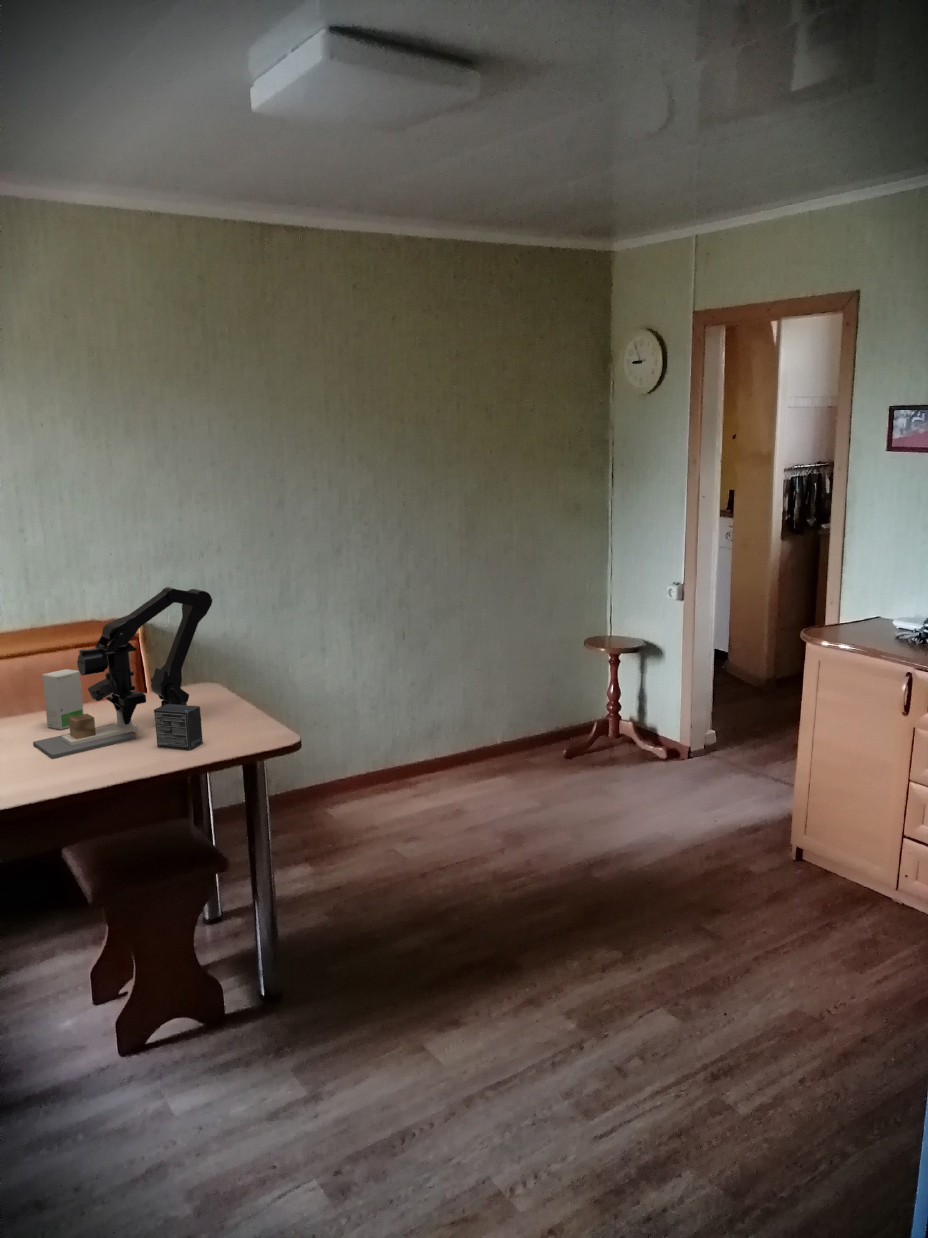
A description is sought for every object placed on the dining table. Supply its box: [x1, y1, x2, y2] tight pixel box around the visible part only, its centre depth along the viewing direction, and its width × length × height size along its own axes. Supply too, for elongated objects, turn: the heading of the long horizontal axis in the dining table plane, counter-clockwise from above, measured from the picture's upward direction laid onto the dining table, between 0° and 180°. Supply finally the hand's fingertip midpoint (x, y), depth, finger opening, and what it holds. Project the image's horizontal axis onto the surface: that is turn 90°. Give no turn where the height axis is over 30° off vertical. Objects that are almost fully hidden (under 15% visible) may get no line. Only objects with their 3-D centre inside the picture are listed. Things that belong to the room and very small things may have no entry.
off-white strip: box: [62, 709, 138, 746], centre depth 262 cm, size 18×7×6 cm, turn 131°
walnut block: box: [69, 713, 96, 739], centre depth 259 cm, size 5×5×5 cm
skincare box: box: [41, 668, 85, 731], centre depth 275 cm, size 8×7×16 cm
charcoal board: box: [32, 723, 136, 760], centre depth 260 cm, size 22×15×1 cm
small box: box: [153, 704, 204, 751], centre depth 255 cm, size 11×6×10 cm, turn 71°
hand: (124, 723), depth 267 cm, fingers closed on off-white strip, 2 cm apart
